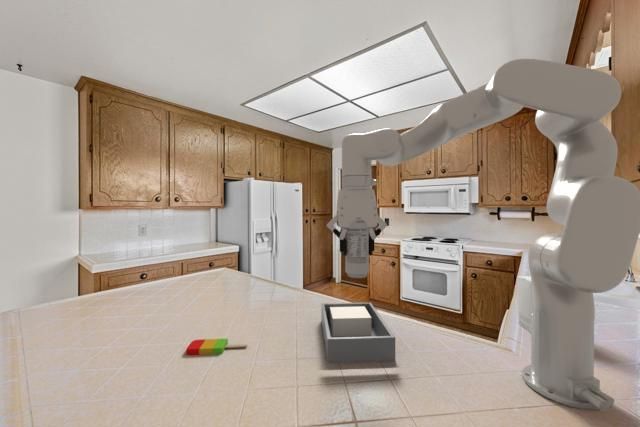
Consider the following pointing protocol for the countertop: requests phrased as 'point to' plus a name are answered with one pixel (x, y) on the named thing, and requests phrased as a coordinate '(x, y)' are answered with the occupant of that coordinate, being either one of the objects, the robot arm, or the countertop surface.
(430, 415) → the countertop surface
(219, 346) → the popsicle
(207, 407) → the countertop surface
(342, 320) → the cream white box
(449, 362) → the countertop surface
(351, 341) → the grocery crate
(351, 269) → the energy drink can
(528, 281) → the skincare box
